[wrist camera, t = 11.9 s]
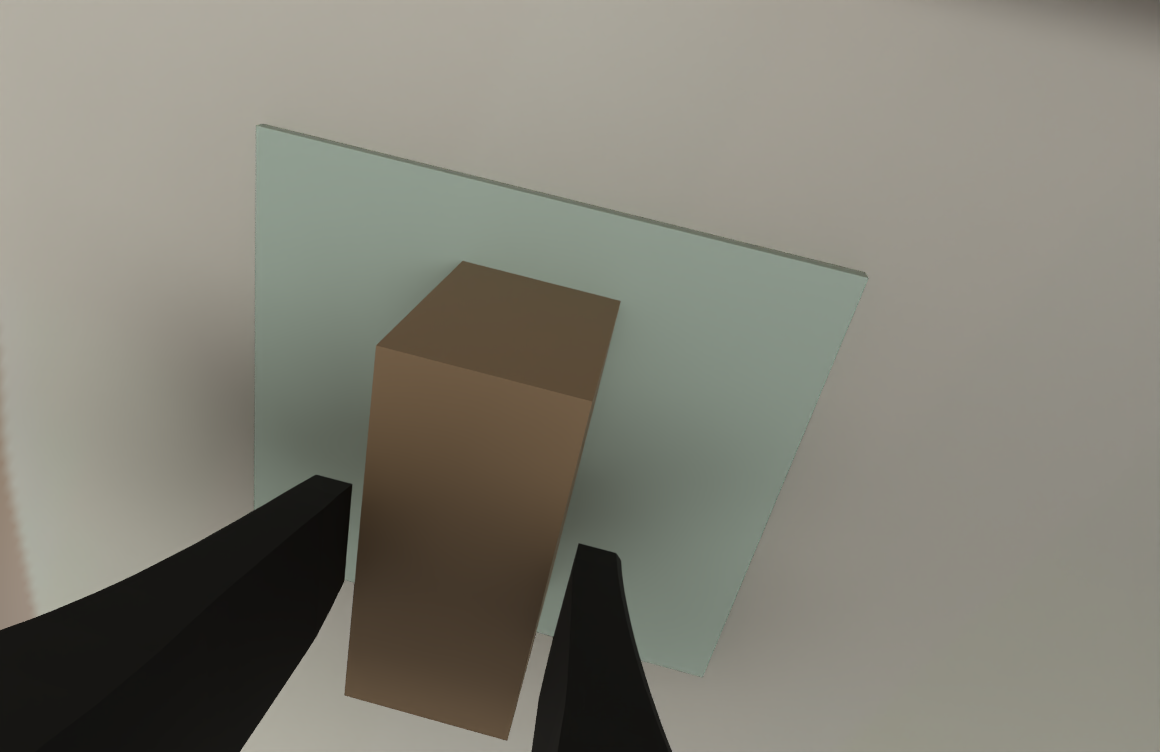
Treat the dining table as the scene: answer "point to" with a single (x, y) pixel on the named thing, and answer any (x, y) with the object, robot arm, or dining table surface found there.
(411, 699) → the toolbox lid
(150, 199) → the dining table surface
